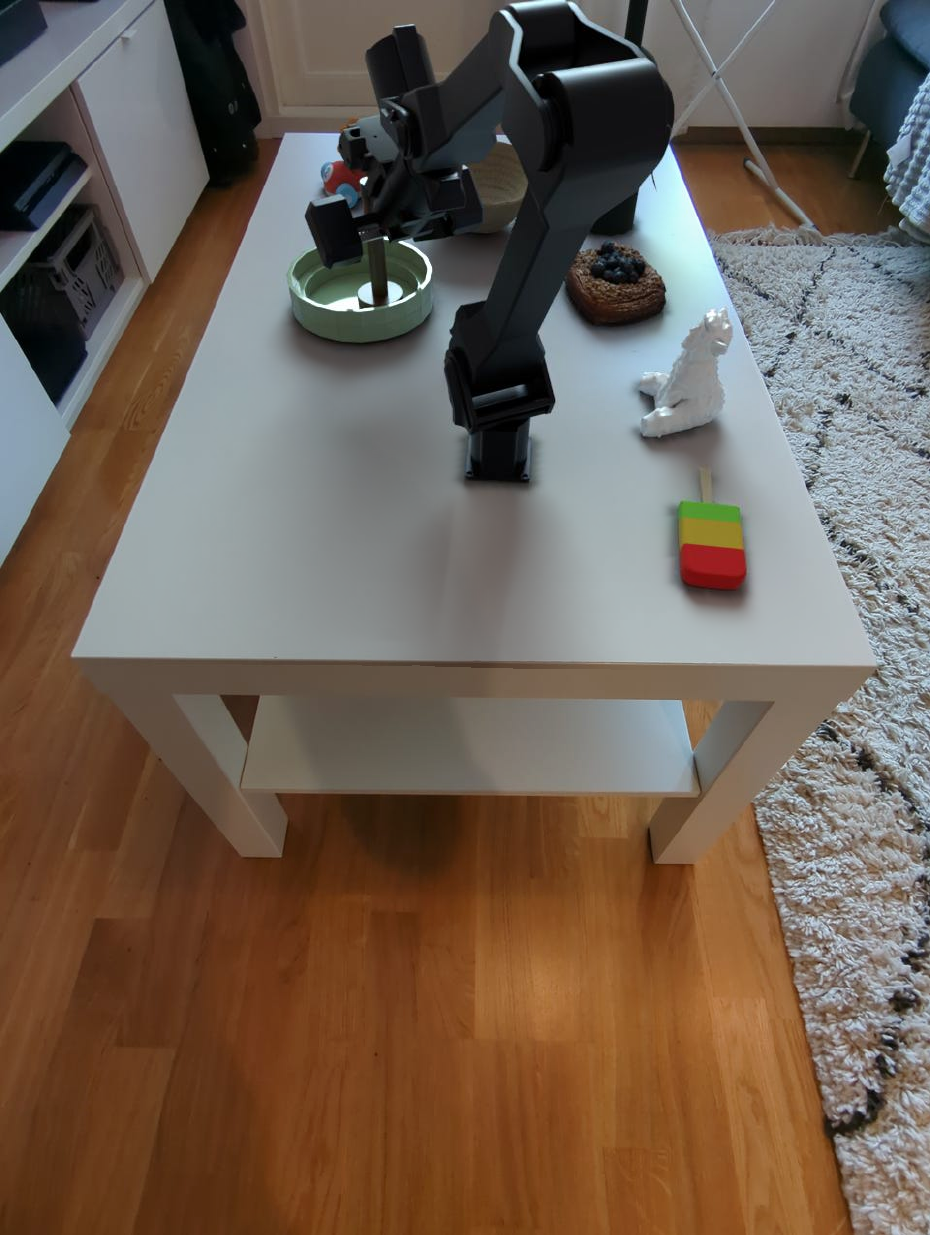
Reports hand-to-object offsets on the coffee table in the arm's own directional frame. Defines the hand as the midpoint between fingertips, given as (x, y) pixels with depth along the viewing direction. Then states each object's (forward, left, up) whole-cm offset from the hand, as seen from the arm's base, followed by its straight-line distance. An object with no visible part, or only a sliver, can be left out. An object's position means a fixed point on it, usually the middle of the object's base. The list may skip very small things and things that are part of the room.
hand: (378, 247), depth 87 cm
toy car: (+30, +9, -8) cm, 32 cm away
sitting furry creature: (-18, -34, -8) cm, 40 cm away
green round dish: (0, +3, -8) cm, 8 cm away
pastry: (+4, -28, -8) cm, 30 cm away
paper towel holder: (0, 0, -7) cm, 7 cm away
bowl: (+21, -10, -8) cm, 25 cm away
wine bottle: (+24, -29, -8) cm, 39 cm away
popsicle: (-35, -35, -8) cm, 50 cm away
